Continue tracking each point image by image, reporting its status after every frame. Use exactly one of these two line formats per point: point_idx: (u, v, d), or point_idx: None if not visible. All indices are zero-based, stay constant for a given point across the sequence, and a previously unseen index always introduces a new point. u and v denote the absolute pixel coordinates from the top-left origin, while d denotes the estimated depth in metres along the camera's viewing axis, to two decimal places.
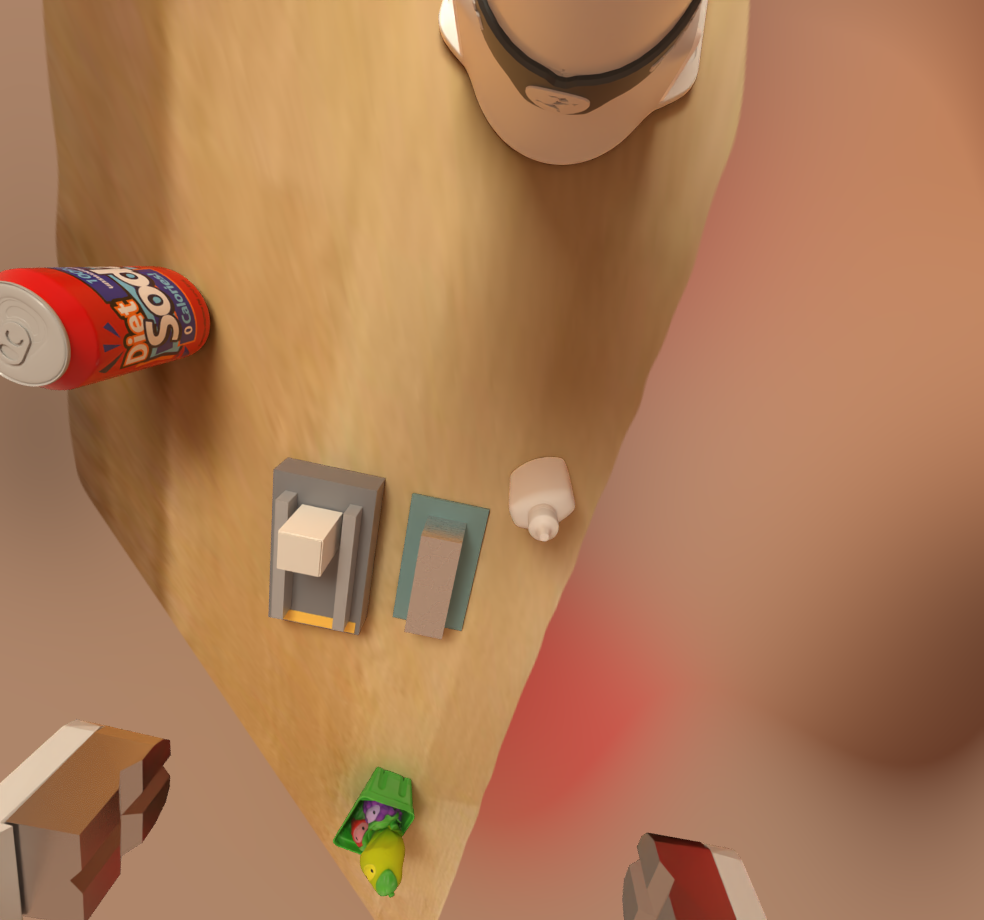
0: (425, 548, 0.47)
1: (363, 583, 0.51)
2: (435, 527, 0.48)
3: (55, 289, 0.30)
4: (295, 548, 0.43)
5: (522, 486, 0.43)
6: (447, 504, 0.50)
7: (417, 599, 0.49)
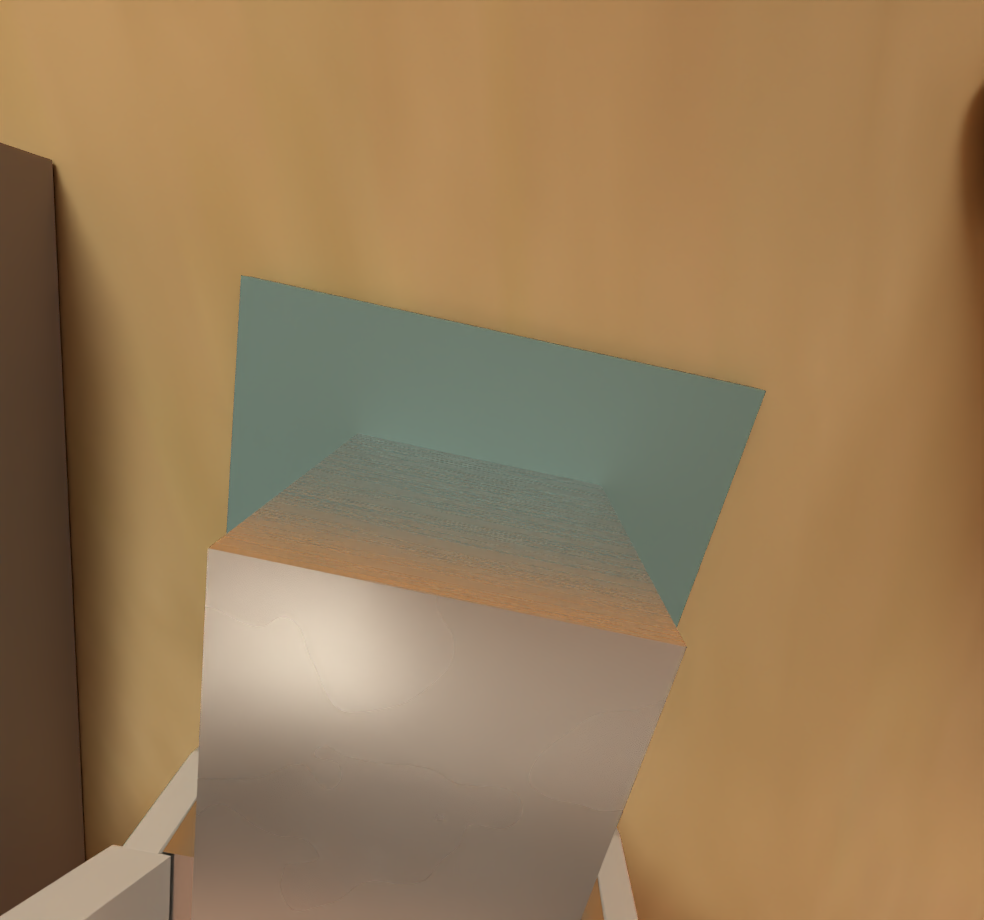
0: (268, 697, 0.04)
1: None
2: (388, 491, 0.06)
3: None
4: None
5: None
6: (484, 347, 0.07)
7: None
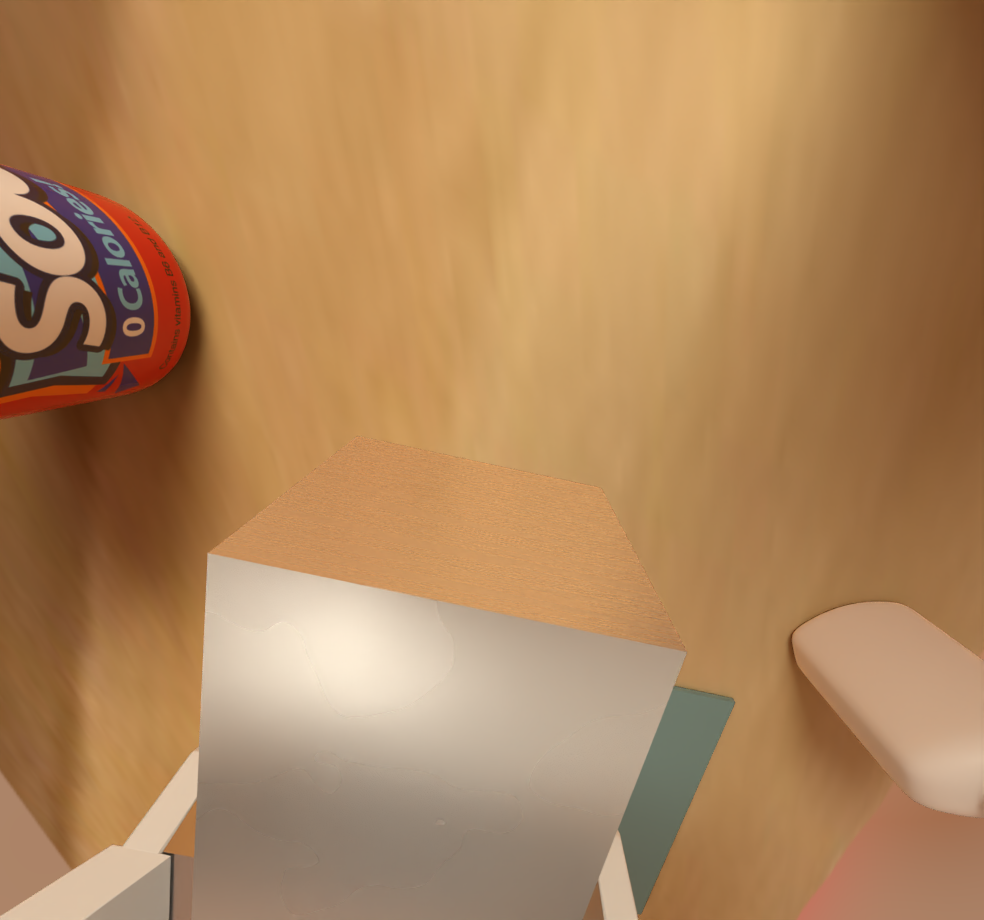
0: (268, 702, 0.04)
1: None
2: (389, 495, 0.06)
3: None
4: None
5: (902, 693, 0.18)
6: None
7: None
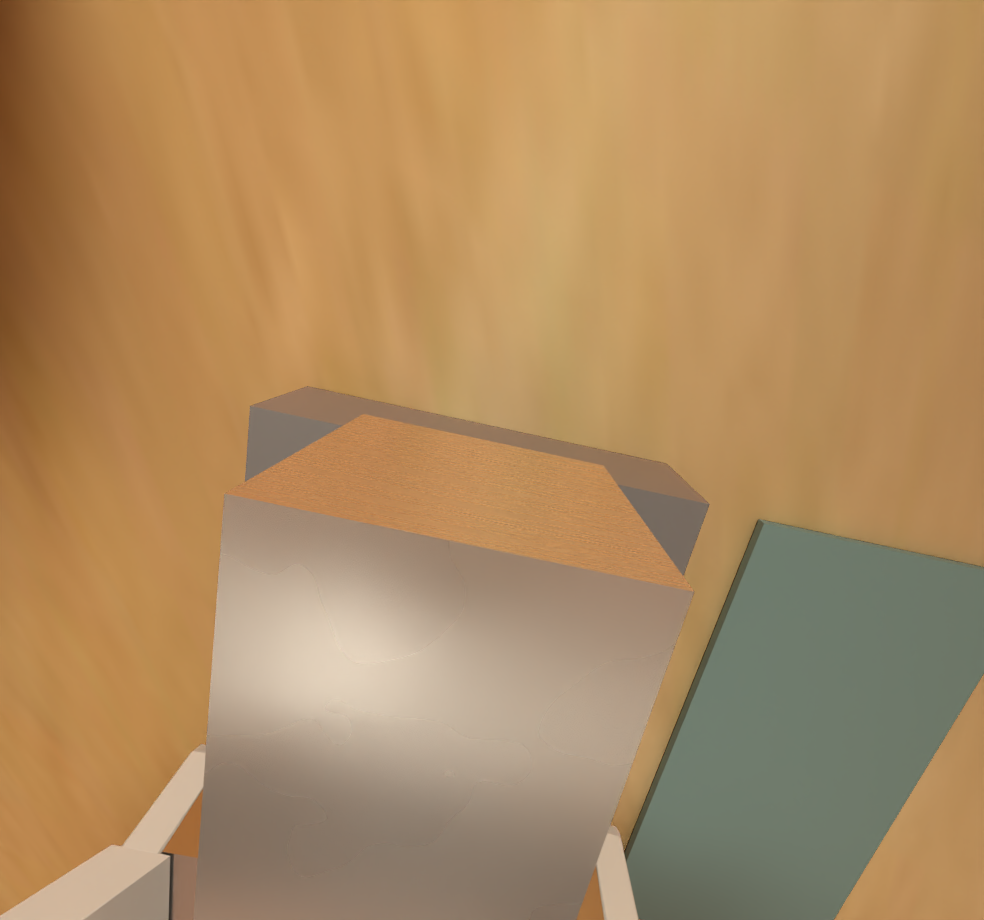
0: (279, 650, 0.04)
1: None
2: (397, 460, 0.06)
3: None
4: None
5: None
6: (888, 559, 0.14)
7: None
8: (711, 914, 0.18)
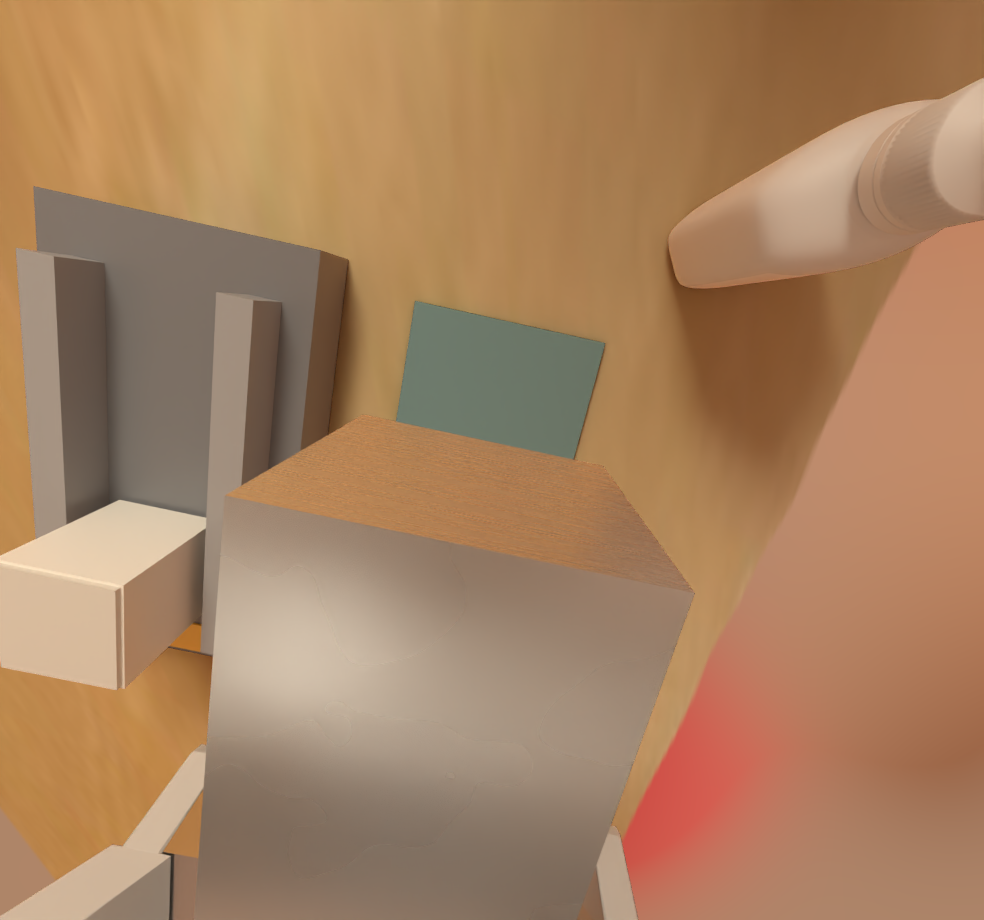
0: (280, 650, 0.04)
1: None
2: (397, 460, 0.06)
3: None
4: (44, 610, 0.15)
5: (769, 165, 0.14)
6: (502, 327, 0.20)
7: None
8: None
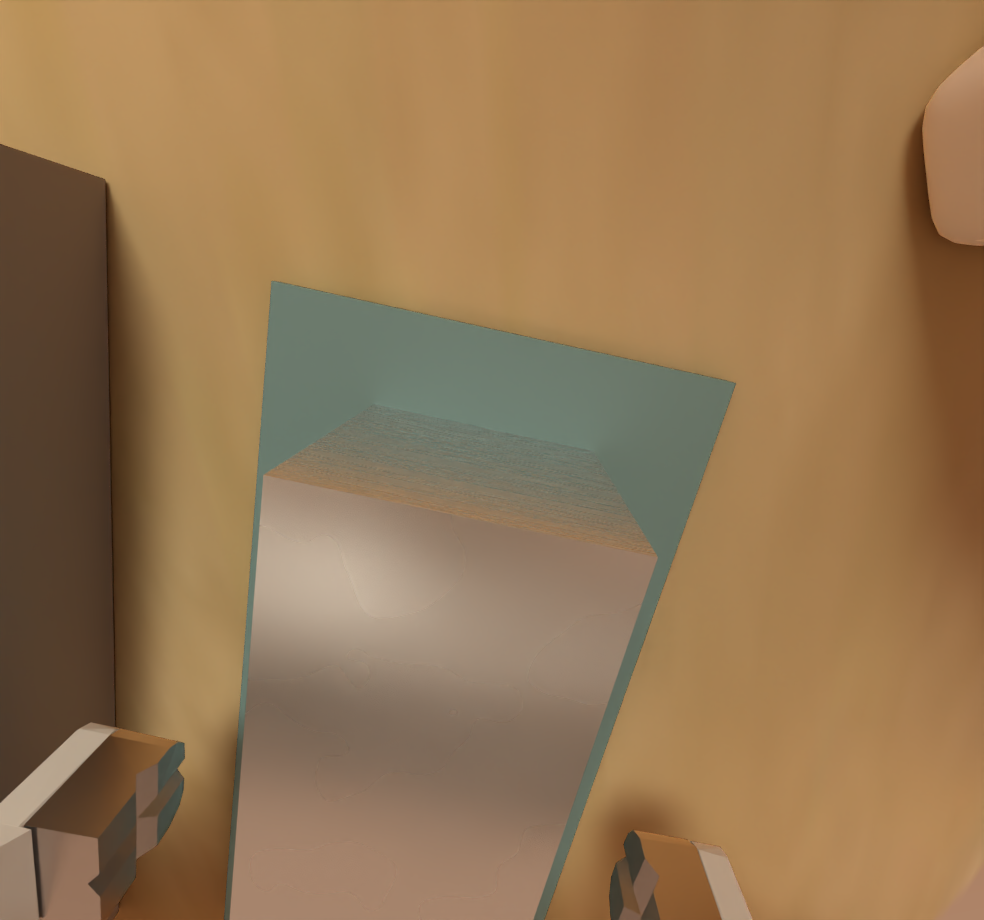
0: (309, 606, 0.05)
1: None
2: (406, 446, 0.07)
3: None
4: None
5: None
6: (486, 345, 0.08)
7: None
8: None
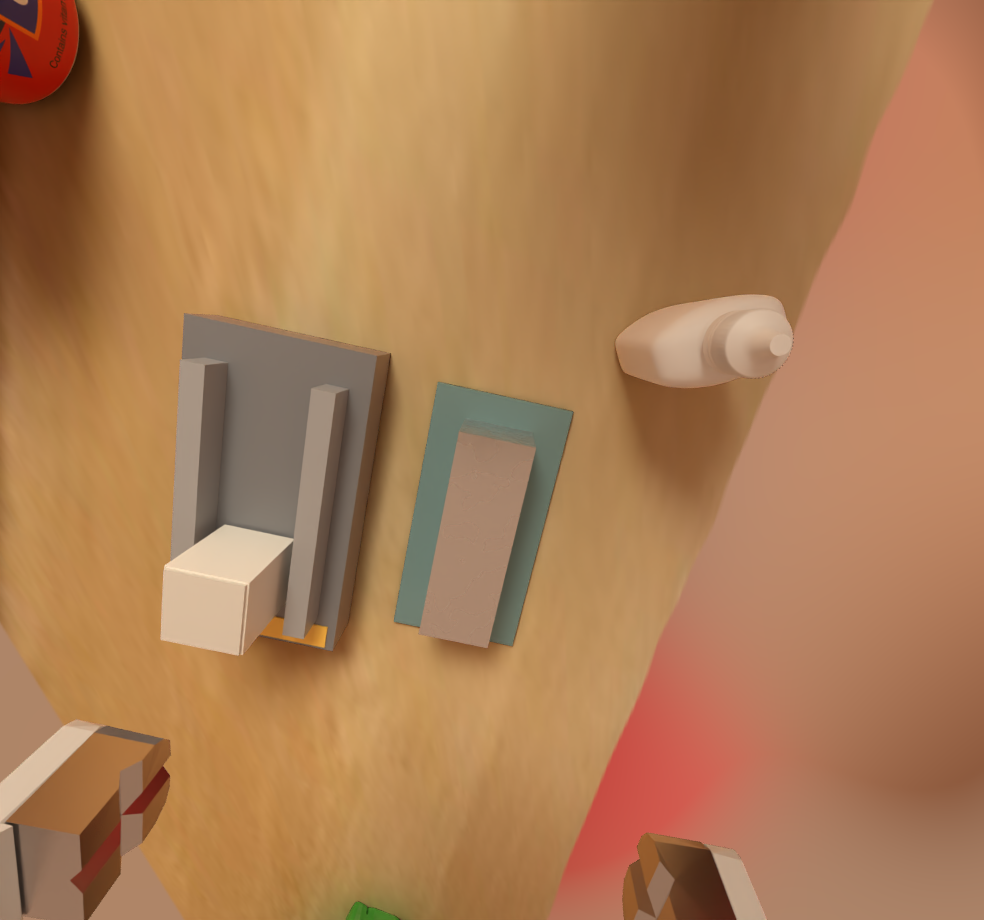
0: (465, 459, 0.25)
1: (345, 548, 0.28)
2: (480, 428, 0.26)
3: None
4: (196, 600, 0.23)
5: (666, 316, 0.22)
6: (499, 400, 0.28)
7: (446, 567, 0.26)
8: None
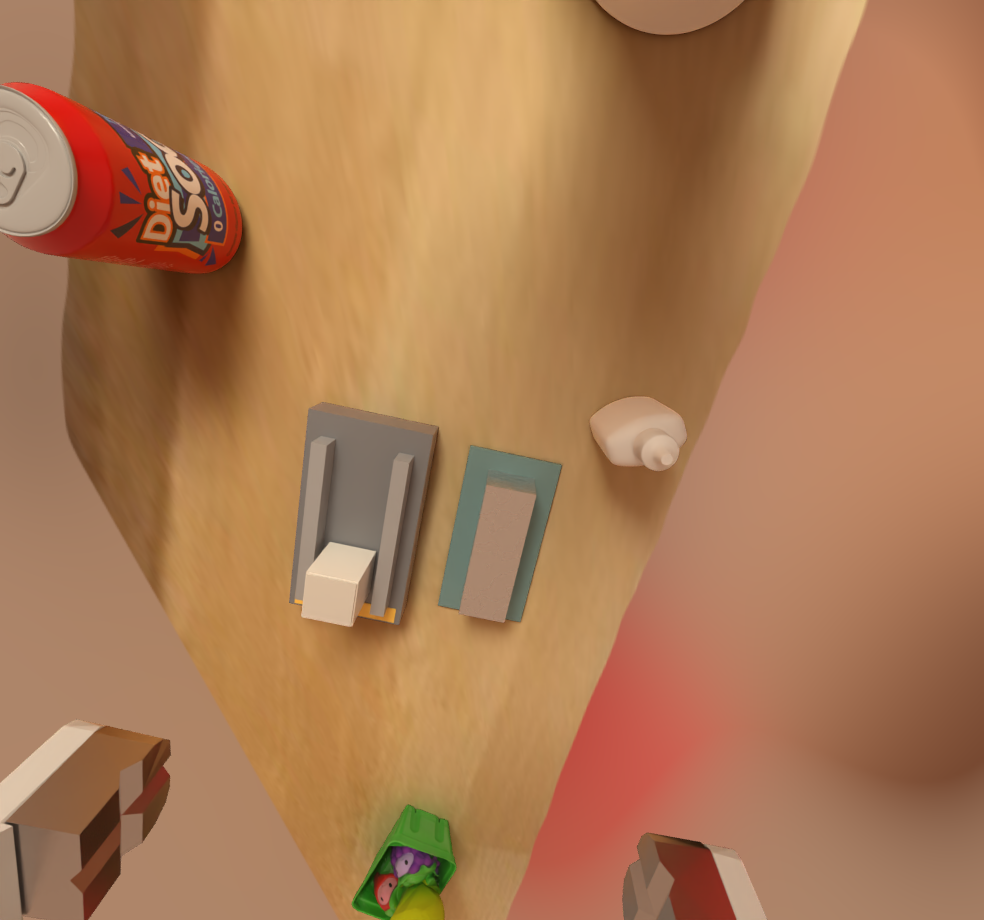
0: (490, 502, 0.39)
1: (409, 557, 0.42)
2: (500, 479, 0.40)
3: (64, 107, 0.23)
4: (325, 592, 0.37)
5: (617, 418, 0.35)
6: (512, 458, 0.42)
7: (477, 570, 0.40)
8: None
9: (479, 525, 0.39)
